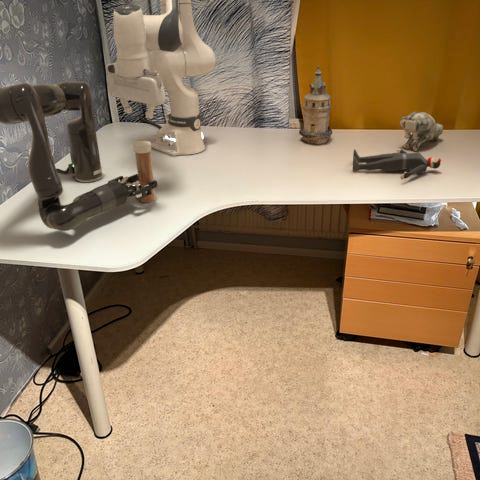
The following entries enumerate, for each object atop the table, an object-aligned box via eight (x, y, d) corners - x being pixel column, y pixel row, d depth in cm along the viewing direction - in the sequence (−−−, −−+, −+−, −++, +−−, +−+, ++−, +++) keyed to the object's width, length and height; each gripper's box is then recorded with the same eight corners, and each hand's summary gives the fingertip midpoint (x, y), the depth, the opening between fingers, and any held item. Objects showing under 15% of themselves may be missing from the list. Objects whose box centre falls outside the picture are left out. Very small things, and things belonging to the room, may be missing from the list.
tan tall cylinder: (154, 202, 171) (149, 147, 162) (140, 203, 170) (133, 147, 161) (155, 196, 175) (150, 142, 166) (141, 196, 174) (135, 142, 165)
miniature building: (320, 132, 228) (325, 59, 214) (338, 142, 217) (344, 66, 203) (293, 137, 224) (296, 63, 209) (310, 147, 213) (314, 69, 198)
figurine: (429, 162, 206) (454, 135, 215) (417, 119, 197) (443, 93, 206) (407, 162, 213) (432, 135, 222) (394, 121, 204) (421, 95, 213)
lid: (150, 153, 162) (150, 146, 161) (132, 154, 162) (132, 146, 161) (152, 147, 167) (151, 140, 166) (134, 147, 167) (134, 140, 165)
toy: (354, 141, 202) (437, 142, 196) (353, 157, 206) (435, 158, 199) (352, 166, 180) (446, 168, 174) (351, 183, 183) (444, 186, 177)
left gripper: (121, 191, 153) (162, 174, 164) (89, 179, 161) (131, 163, 172) (124, 215, 157) (164, 196, 168) (93, 202, 165) (133, 185, 176)
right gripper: (168, 70, 149) (172, 118, 156) (117, 61, 160) (123, 107, 167) (152, 74, 145) (156, 124, 151) (101, 65, 155) (108, 112, 162)
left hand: (147, 180), depth 170 cm, fingers open, 8 cm apart
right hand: (138, 115), depth 159 cm, fingers open, 8 cm apart
